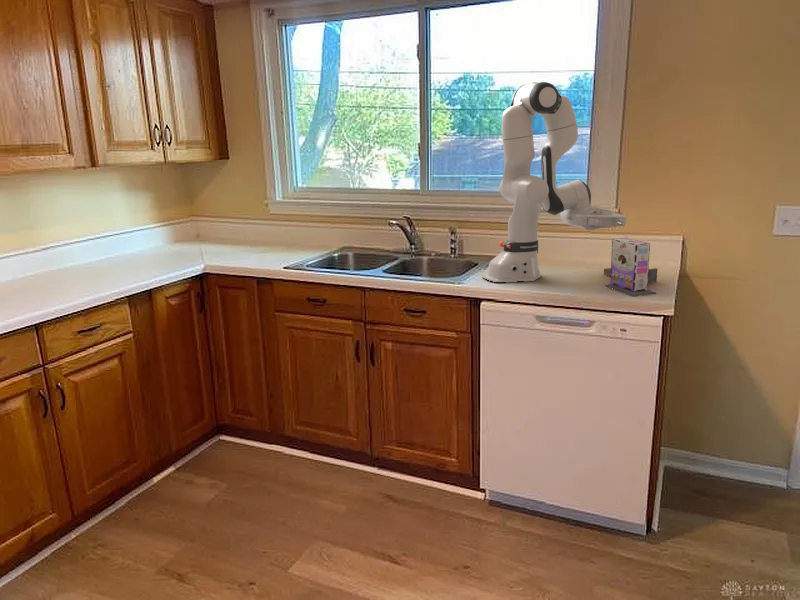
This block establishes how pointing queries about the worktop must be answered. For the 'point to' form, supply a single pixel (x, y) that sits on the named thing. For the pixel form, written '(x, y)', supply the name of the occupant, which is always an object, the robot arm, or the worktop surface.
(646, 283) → the candy box
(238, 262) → the worktop surface
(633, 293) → the mat
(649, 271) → the holder
